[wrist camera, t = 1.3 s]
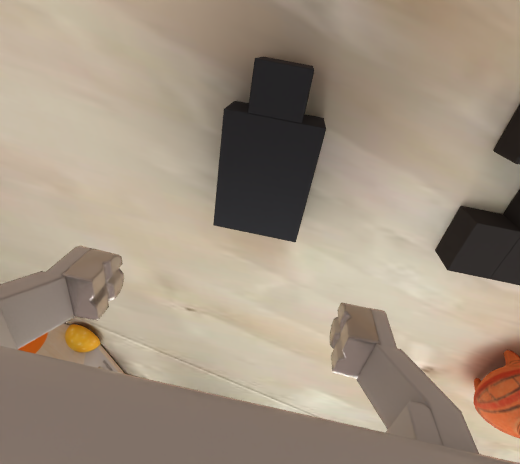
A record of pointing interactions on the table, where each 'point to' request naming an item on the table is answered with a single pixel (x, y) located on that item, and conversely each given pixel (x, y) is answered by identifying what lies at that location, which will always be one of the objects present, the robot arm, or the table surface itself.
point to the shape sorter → (73, 347)
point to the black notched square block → (487, 229)
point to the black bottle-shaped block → (269, 153)
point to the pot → (501, 396)
